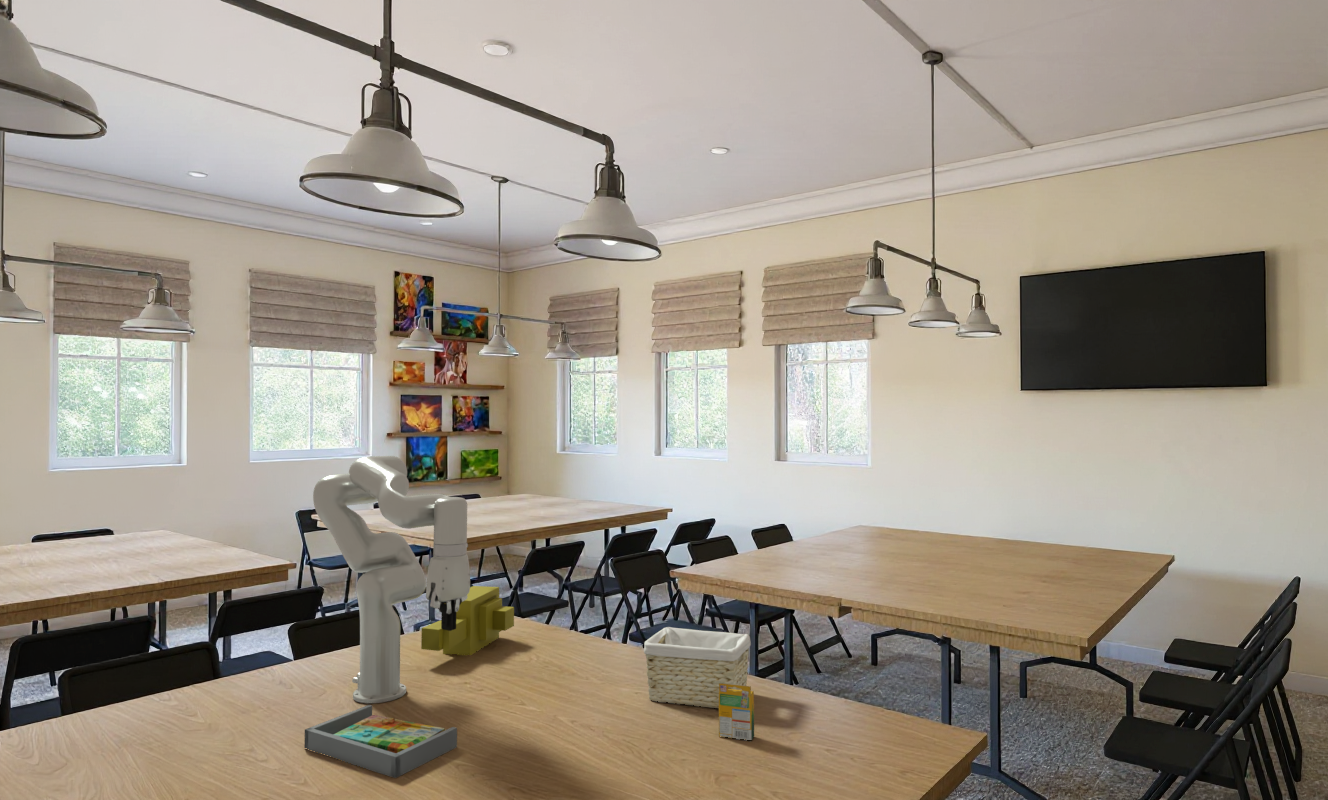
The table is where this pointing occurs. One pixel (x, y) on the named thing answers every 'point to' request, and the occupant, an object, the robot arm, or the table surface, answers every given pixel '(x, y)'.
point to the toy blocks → (471, 624)
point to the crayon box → (736, 712)
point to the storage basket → (695, 665)
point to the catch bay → (373, 757)
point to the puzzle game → (388, 733)
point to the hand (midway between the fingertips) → (448, 629)
